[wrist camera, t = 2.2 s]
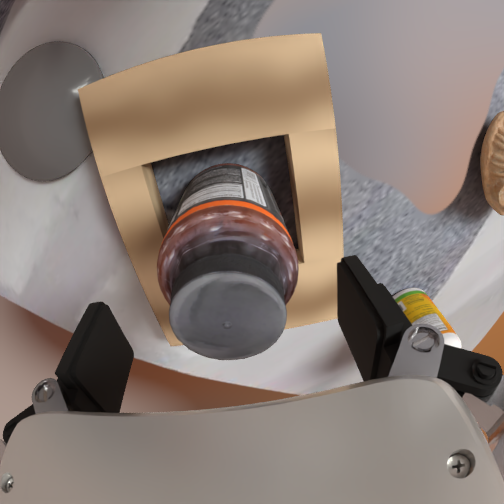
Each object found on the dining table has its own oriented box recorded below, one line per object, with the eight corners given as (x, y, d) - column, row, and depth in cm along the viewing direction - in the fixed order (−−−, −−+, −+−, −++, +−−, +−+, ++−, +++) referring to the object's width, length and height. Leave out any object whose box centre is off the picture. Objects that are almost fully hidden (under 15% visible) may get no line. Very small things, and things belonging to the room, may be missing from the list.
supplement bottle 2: (422, 319, 27) (465, 389, 18) (377, 335, 27) (414, 414, 19) (428, 279, 24) (485, 352, 16) (379, 295, 24) (428, 380, 16)
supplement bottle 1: (272, 243, 21) (305, 373, 11) (187, 246, 21) (159, 379, 11) (274, 159, 18) (327, 243, 8) (179, 163, 18) (119, 252, 8)
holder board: (91, 88, 15) (77, 89, 13) (311, 39, 14) (321, 33, 13) (173, 329, 25) (170, 346, 23) (335, 301, 24) (342, 317, 22)
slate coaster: (-9, 81, 12) (-14, 82, 12) (94, 19, 12) (90, 17, 12) (18, 194, 17) (14, 197, 17) (122, 154, 17) (119, 156, 17)
